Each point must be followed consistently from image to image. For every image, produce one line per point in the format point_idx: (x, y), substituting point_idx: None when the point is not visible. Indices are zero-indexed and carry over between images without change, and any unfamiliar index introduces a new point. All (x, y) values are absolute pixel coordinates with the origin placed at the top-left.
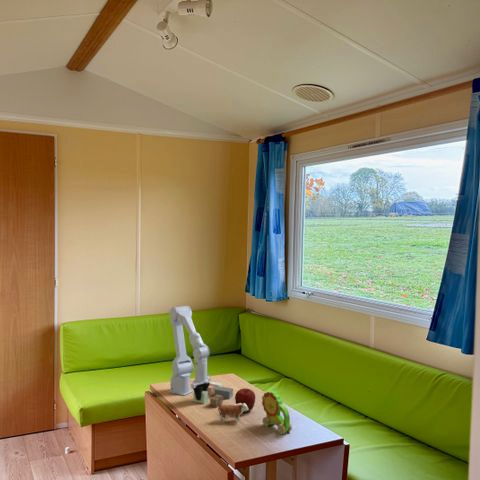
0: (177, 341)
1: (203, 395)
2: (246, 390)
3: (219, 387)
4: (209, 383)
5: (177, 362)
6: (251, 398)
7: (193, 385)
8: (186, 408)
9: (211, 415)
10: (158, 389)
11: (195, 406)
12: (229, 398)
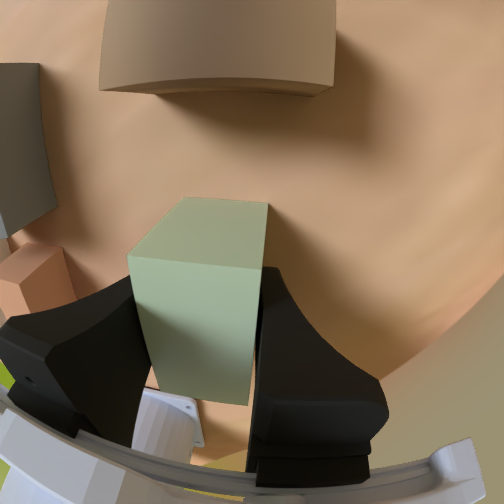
0: None
1: (262, 261)
2: None
3: None
4: (1, 334)
5: None
6: None
7: (472, 486)
8: (433, 296)
9: (493, 33)
10: (201, 462)
11: (375, 251)
12: (32, 65)
